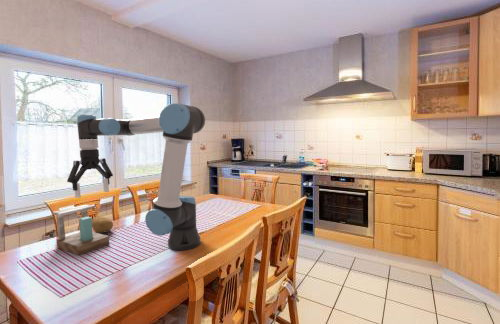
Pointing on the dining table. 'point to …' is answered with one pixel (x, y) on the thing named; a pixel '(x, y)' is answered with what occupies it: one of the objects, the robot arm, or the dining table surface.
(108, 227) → the potato
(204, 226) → the dining table surface
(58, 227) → the socket stand
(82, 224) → the peg
